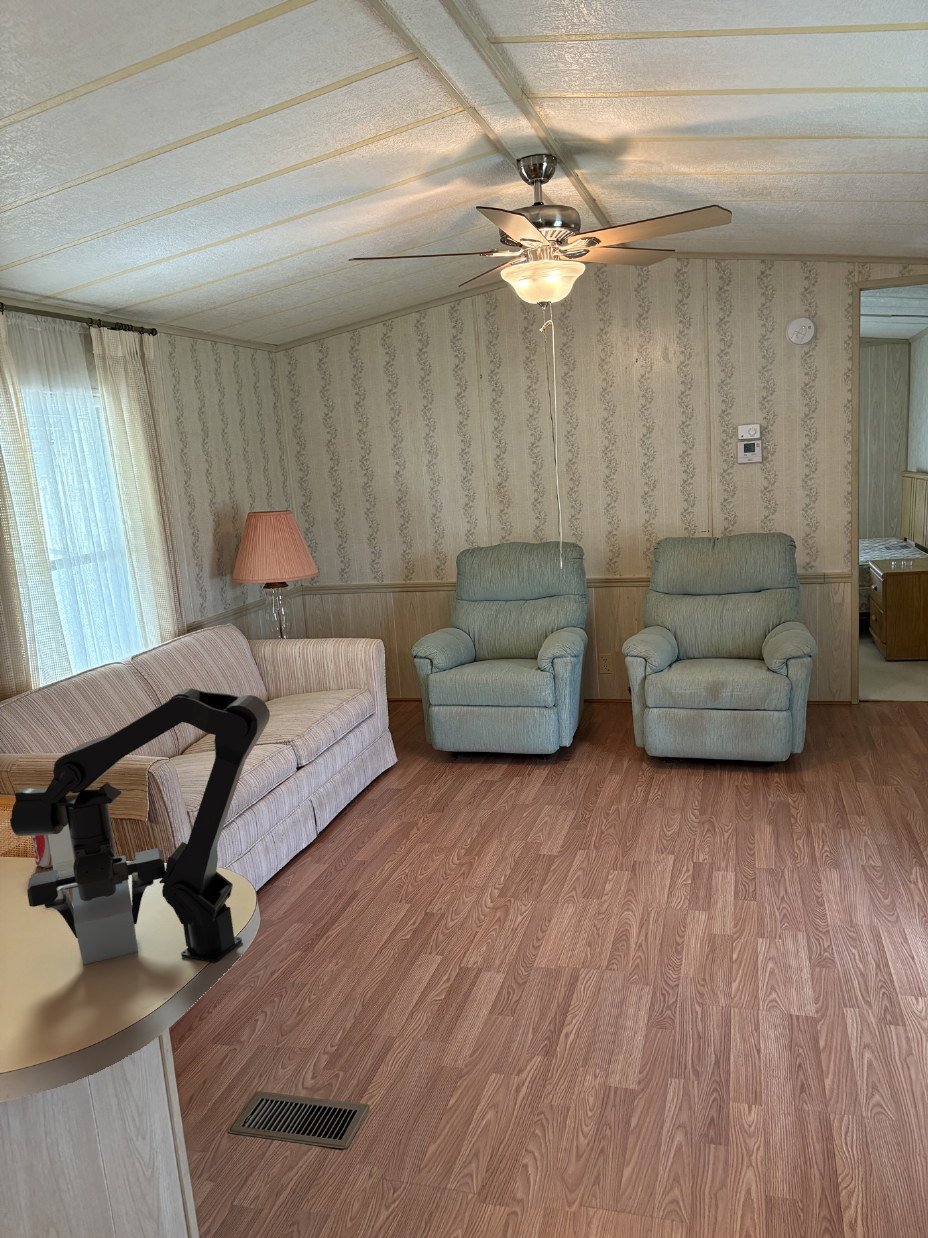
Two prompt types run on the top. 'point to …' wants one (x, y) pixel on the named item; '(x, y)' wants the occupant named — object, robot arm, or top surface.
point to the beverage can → (42, 850)
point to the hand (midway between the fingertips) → (106, 930)
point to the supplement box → (62, 852)
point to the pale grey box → (105, 925)
